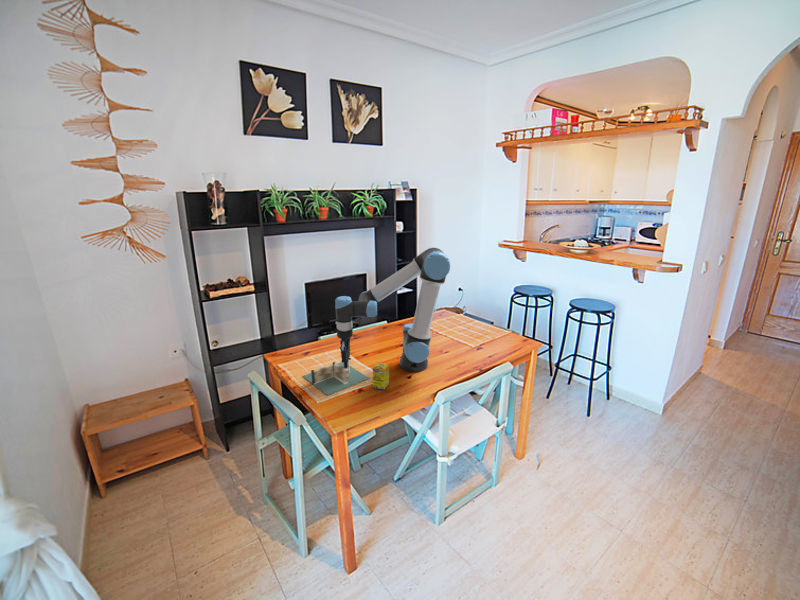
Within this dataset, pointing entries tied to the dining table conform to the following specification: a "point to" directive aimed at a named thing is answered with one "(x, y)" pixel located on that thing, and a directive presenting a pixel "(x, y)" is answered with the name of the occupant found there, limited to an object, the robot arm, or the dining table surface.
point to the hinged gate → (341, 372)
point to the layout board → (337, 381)
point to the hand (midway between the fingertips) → (346, 372)
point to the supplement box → (380, 376)
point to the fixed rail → (322, 374)
